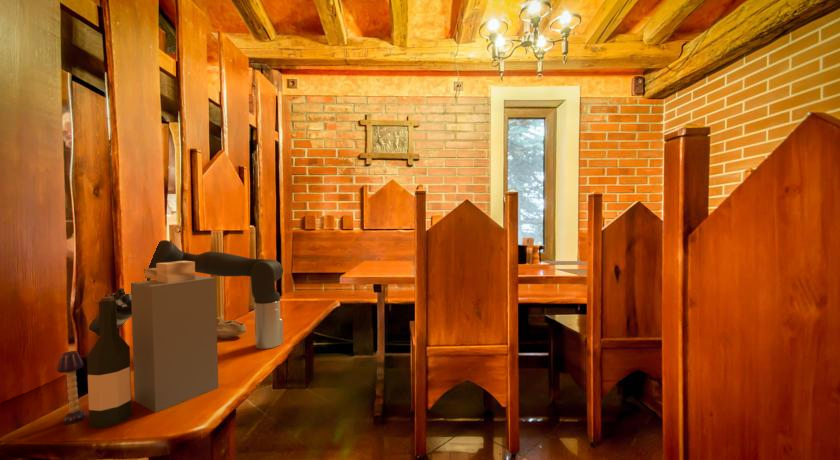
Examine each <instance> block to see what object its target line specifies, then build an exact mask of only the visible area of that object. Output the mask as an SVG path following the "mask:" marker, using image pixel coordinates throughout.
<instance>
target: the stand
mask: <svg viewBox="0 0 840 460" xmlns="http://www.w3.org/2000/svg"><path fill="white" fill-rule="evenodd" d="M216 282H217V281H216V277H213V276H203V275H196V274H195V280H188V281H180V282H173V283H163V282H157V279H153V280H151V279H150V281H143V282H135V283H131V304H132V317H131V331H132V359H133V360H132V362H133V363H132V364H133V365H132V366H133V388H134V389H133V390H134V391H133V393H134V402H136V403H137V404H138V405H141V406H143V407H145V408H146V409H148V410H150V411H152V412H154V413H158V412H161V411H164V410H166V409H168V408H171V407H173V406H176V405H179V404H181V403H183V401H184V402H186V401H189V400H192V399H193V398H195V397H199V396H201V395H204V394H206V393H209V392H211V391H214V390H217V389H219V363H218V362H219V361H218V360H219V359H218V358H219V357H218V336H217V318H218V317H217V291H216V290H217V288H216ZM188 399H189V400H188Z"/></svg>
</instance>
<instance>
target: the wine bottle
mask: <svg viewBox="0 0 840 460" xmlns="http://www.w3.org/2000/svg"><path fill="white" fill-rule="evenodd" d="M98 314H99V326H100V337H99V338H97V340H96V342H95V343H94V345H93V346H92V348H91V350H90V351H89V353H88V355H87V357H86V363H87V390H88V391H87V392H88V395H87V396H88V420H89V421H88V422H89V423H88V425H89V428H91V429H104V428H108V427H112V426H116V425H120V424H121V423H123V422H125V421H126V420H128V419H130V418H132V414H133V413H132V412H133V405H132V404H133V403H132V374H131V373H132V372H131V350H130V349H131V347H130V345H129V344H128V343H127V342H126V341H125V340H124V338H122V335H121V336H120V335H119V334H118V333H117V308H116V299H114V296H111V295H110V296H109V297H104V296H103V297H101V298H100V300H99V301H98Z"/></svg>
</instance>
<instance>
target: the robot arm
mask: <svg viewBox="0 0 840 460" xmlns="http://www.w3.org/2000/svg"><path fill="white" fill-rule="evenodd" d="M158 242H159V241H158ZM176 261H192V262H195V273H200V274H204V275H212V276H218V277H250V283H251V284H250V285H251V294H252V297H253V301H254V332H255V333H254V336H255V337H254V338H255V340H254V341H255V348H257V349H259V350H264V349H267V350H268V349H271V348H272V349H273V348H275V347H276V348H277V347H278V346H280V345H281V344H283V343H284V324H283V323H284V322H283V321H284V320H283V318H281V294H280V293H279V292H278V291H277V290H276V284H275V283H276V282H277V281H279V279H281V278H282V276H283V275H284V266H282V264H281V263H280V262H279V261H278V260H275V259H270V258H269V259H266V258H264V259H263V258H249V257H244V256H242V255H237V254H231V253H226V252H220V251H205V252H202V253H199V254H195V253H194V254H193V253H189V252H185V251H182V250H181V249H180V248H178V247H177V246H176V245H175V244H174V243H173V242H172V241H170V240H168V239H167V240H166V239H165V240H164V239H163V240H160V242H159V244H158V246H157V248H156V251H155V253H154V255H153V258H152V260H151V263H150V265H149V268H148V269H150V268H156V263H165V262H176ZM151 279H152V278H147V281H151ZM109 296H114V299H116V308H117V333H118V328H119V327H121V326H122V325H123V324H124V323H125V322H126V321H127V320H128V321H129V319H132V304H131V294H125V292H124V288H123V287H120V288H119V289H117V290H116V291H115V292H114V293H112V294H111V295H110V294H106V295H104V296H103V297H109ZM97 315H98V314H97ZM128 321H127V322H128ZM89 330H91V331H93V332H95V333H96V334H97V335H98V336H100V326H99V315H98V316H97V317H96V318H95V319H94V320H93V321H92V323H91V324H90V326H89Z"/></svg>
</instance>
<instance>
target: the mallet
mask: <svg viewBox="0 0 840 460" xmlns="http://www.w3.org/2000/svg"><path fill="white" fill-rule="evenodd" d="M144 273H145V278H151V279H153V280H157V282H163V283H173V282H180V281H188V280H195V275H196V272H195V262H192V261H176V262H165V263H156V268H150V269H144Z"/></svg>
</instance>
